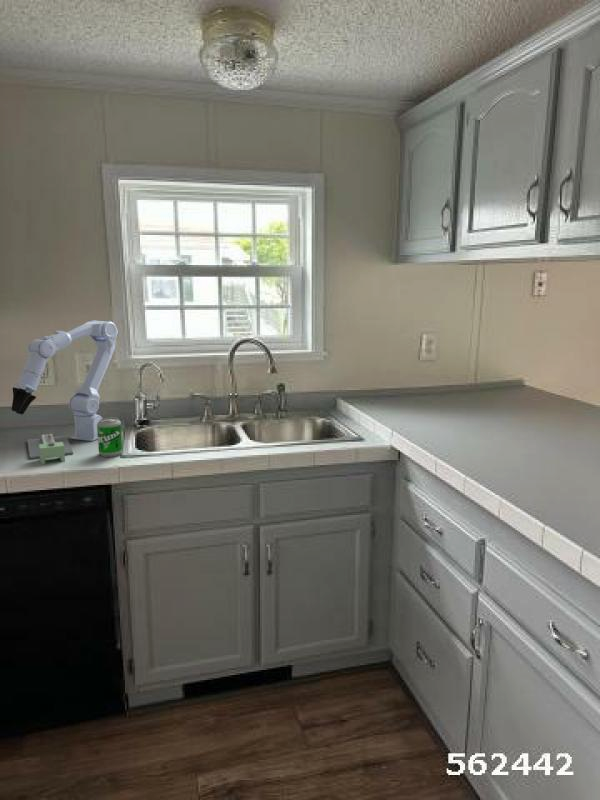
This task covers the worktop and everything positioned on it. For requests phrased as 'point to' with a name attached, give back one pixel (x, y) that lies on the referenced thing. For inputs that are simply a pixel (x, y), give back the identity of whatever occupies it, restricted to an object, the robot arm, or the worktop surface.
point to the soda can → (109, 437)
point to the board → (39, 441)
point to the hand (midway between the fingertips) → (17, 412)
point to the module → (51, 451)
